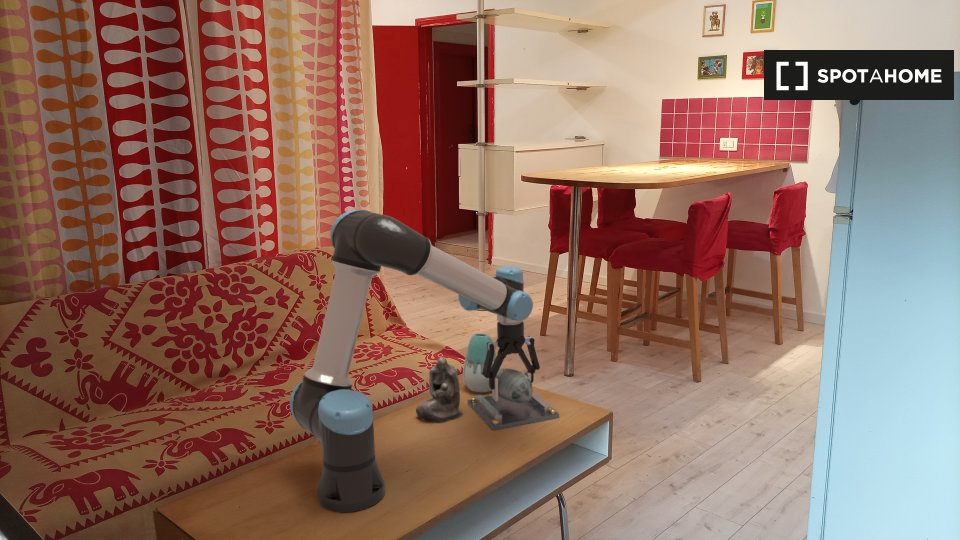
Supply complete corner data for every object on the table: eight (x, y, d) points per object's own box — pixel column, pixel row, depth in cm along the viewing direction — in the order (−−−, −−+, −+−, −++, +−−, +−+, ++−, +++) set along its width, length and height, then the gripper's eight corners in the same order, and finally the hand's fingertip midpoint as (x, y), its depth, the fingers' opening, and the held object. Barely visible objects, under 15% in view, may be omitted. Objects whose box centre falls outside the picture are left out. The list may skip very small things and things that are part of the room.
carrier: (492, 430, 196) (492, 420, 195) (467, 403, 214) (467, 394, 213) (559, 417, 203) (559, 407, 202) (529, 392, 221) (529, 383, 220)
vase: (484, 379, 233) (482, 325, 229) (508, 388, 224) (507, 333, 220) (455, 388, 226) (453, 333, 222) (479, 399, 217) (478, 342, 213)
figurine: (416, 424, 201) (413, 363, 197) (415, 407, 212) (413, 349, 208) (463, 421, 202) (461, 360, 198) (460, 405, 213) (458, 347, 209)
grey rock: (545, 390, 204) (526, 362, 202) (521, 412, 200) (502, 384, 198) (520, 386, 216) (503, 360, 214) (498, 407, 212) (480, 380, 210)
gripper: (478, 330, 195) (480, 407, 200) (552, 320, 203) (552, 394, 208) (468, 323, 202) (471, 397, 207) (540, 313, 210) (541, 385, 215)
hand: (511, 396), depth 207 cm, fingers closed on grey rock, 9 cm apart
